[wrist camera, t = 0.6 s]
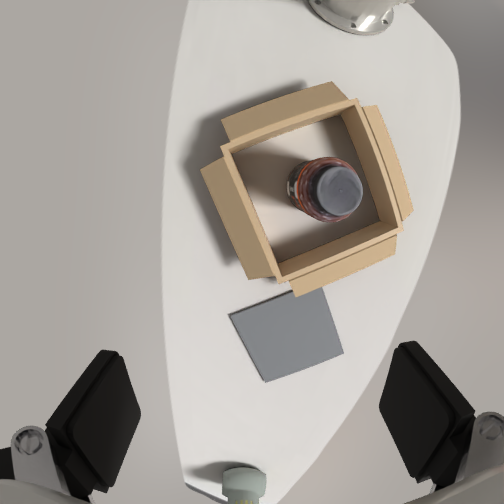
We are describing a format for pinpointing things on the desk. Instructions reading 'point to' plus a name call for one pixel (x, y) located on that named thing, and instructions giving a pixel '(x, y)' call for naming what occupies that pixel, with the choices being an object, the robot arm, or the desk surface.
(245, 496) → the air freshener
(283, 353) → the mat
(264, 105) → the carton
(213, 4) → the desk surface
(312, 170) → the supplement bottle
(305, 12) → the desk surface
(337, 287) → the desk surface
